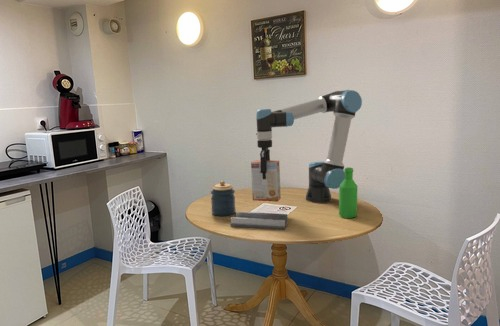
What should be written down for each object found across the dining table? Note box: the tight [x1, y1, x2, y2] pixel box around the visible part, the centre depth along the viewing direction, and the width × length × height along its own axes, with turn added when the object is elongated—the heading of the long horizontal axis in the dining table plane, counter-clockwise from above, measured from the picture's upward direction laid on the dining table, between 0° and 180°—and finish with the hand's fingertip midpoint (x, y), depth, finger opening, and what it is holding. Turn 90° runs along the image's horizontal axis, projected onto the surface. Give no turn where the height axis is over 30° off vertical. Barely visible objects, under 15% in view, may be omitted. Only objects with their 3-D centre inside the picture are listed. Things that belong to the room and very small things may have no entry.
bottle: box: [338, 167, 358, 219], centre depth 174 cm, size 9×9×25 cm
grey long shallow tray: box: [230, 211, 289, 231], centre depth 167 cm, size 26×12×4 cm, turn 76°
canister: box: [210, 180, 236, 217], centre depth 185 cm, size 13×13×18 cm
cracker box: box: [250, 159, 281, 203], centre depth 180 cm, size 14×6×21 cm, turn 71°
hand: (266, 183), depth 180 cm, fingers closed on cracker box, 6 cm apart
